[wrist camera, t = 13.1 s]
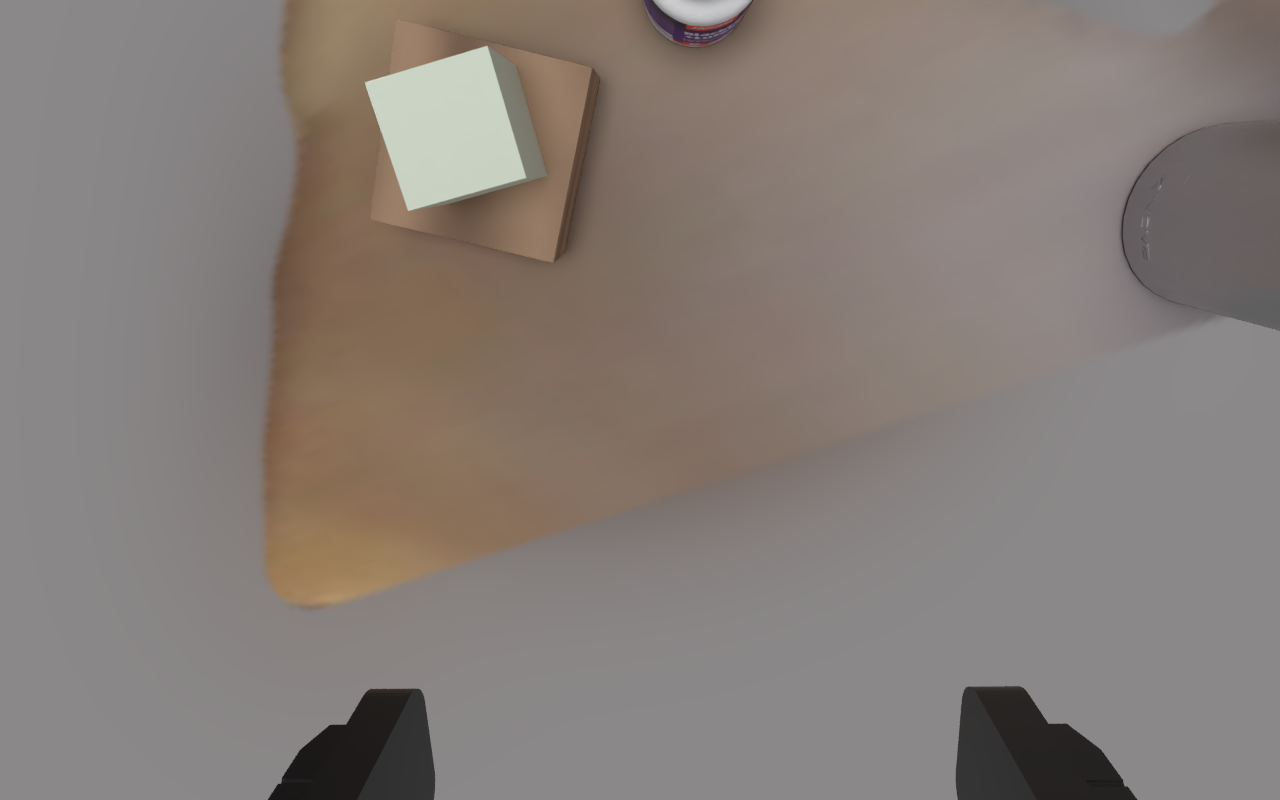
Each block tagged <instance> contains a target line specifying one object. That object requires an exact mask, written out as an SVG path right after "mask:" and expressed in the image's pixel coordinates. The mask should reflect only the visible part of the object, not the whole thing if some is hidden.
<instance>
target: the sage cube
mask: <svg viewBox="0 0 1280 800" xmlns="http://www.w3.org/2000/svg"><path fill="white" fill-rule="evenodd" d="M365 85H366V88H367V91H368V94H369V97H370V100H371V103H372V106H373V109H374V111H375V114H376V117H377V120H378V123H379V126H380V129H381V132H382V135H383V138H384V141H385V144H386V147H387V150H388V153H389V156H390V159H391V162H392V165H393V168H394V171H395V174H396V176H397V179H398V182H399V185H400V188H401V191H402V194H403V197H404V200H405V203H406V206H407V209H408V211H412V210H417V209H423V208H429V207H435V206H440V205H446V204H450V203H454V202H457V201H461V200H464V199H468V198H472V197H475V196H479V195H482V194H486V193H489V192H493V191H497V190H500V189H504V188H507V187H511V186H514V185H518V184H521V183H525V182H529V181H532V180H536V179H539V178H543V177H546V176H548V175H547V172H546V169H545V165H544V162H543V158H542V155H541V151H540V148H539V144H538V141H537V137H536V134H535V130H534V127H533V123H532V120H531V116H530V113H529V109H528V106H527V103H526V99H525V96H524V92H523V89H522V85H521V82H520V78H519V75H518V71H517V68H516V65H515V64H513V63H512V62H510V61H509V60H508V59H506V58H505V57H503V56H502V55H500V54H499V53H497V52H496V51H494V50H493V49H491V48H490V47H489V46H485V47H481V48H478V49H475V50H471V51H468V52H465V53H461V54H458V55H455V56H451V57H448V58H445V59H441V60H438V61H435V62H431V63H428V64H425V65H421V66H418V67H415V68H411V69H408V70H405V71H401V72H398V73H395V74H391V75H388V76H385V77H381V78H378V79H375V80H371V81H368V82H365Z"/></svg>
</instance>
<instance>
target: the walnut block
mask: <svg viewBox="0 0 1280 800" xmlns="http://www.w3.org/2000/svg"><path fill="white" fill-rule="evenodd" d="M485 46H489V47H490V48H491V49H493V50H494V51H496V52H497V53H499V54H500V55H502V56H503V57H505V58H506V59H508V60H509V61H510V62H512V63H513V64H515V65H516V68H517V71H518V75H519V78H520V82H521V85H522V89H523V92H524V96H525V99H526V103H527V106H528V109H529V113H530V116H531V120H532V123H533V127H534V130H535V134H536V137H537V141H538V144H539V148H540V151H541V155H542V158H543V162H544V165H545V169H546V172H547V175H548V176H546V177H543V178H539V179H536V180H532V181H529V182H525V183H521V184H518V185H514V186H511V187H507V188H504V189H500V190H497V191H493V192H489V193H486V194H482V195H479V196H475V197H472V198H468V199H464V200H461V201H457V202H454V203H450V204H446V205H440V206H435V207H429V208H423V209H417V210H412V211H408V209H407V206H406V203H405V200H404V197H403V194H402V191H401V188H400V185H399V182H398V179H397V176H396V174H395V171H394V168H393V165H392V162H391V159H390V156H389V153H388V150H387V147H386V144H385V141H384V138H383V135H382V132H381V137H380V145H379V152H378V160H377V167H376V175H375V183H374V190H373V198H372V206H371V213H370V219H371V220H375V221H379V222H383V223H387V224H392V225H396V226H400V227H404V228H408V229H413V230H417V231H421V232H425V233H429V234H434V235H438V236H442V237H446V238H450V239H455V240H459V241H463V242H467V243H472V244H476V245H480V246H484V247H488V248H493V249H497V250H501V251H505V252H509V253H514V254H518V255H522V256H526V257H530V258H535V259H539V260H543V261H547V262H551V263H554V262H555V261H556V260H557V259H558V258H559V257H561V256H562V255H563V254H564V253H565V249H566V245H567V240H568V235H569V230H570V225H571V220H572V215H573V210H574V205H575V200H576V195H577V190H578V186H579V181H580V176H581V171H582V166H583V161H584V156H585V151H586V146H587V141H588V136H589V131H590V127H591V122H592V117H593V112H594V107H595V102H596V97H597V92H598V87H599V82H600V78H599V76H598V75H597V73H596V72H595V71H594V69H593V68H592V67H588V66H584V65H580V64H576V63H572V62H568V61H564V60H560V59H556V58H552V57H548V56H544V55H540V54H536V53H532V52H528V51H524V50H520V49H516V48H512V47H508V46H504V45H500V44H496V43H492V42H488V41H484V40H479V39H475V38H471V37H467V36H463V35H459V34H455V33H451V32H447V31H443V30H439V29H435V28H431V27H427V26H423V25H419V24H415V23H411V22H407V21H403V20H399V19H396V23H395V30H394V38H393V46H392V53H391V61H390V68H389V75H391V74H395V73H398V72H401V71H405V70H408V69H411V68H415V67H418V66H421V65H425V64H428V63H431V62H435V61H438V60H441V59H445V58H448V57H451V56H455V55H458V54H461V53H465V52H468V51H471V50H475V49H478V48H481V47H485Z"/></svg>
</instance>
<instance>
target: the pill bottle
mask: <svg viewBox="0 0 1280 800" xmlns="http://www.w3.org/2000/svg"><path fill="white" fill-rule="evenodd" d="M752 1H753V0H643V3H644V7H645V10H646V12H647V15H648V17H649V18H650V20H651V22H652V24H653V25H654V26H655V28H656V29H657V30H658V31H659V32H660V33H661V34H662V35H663V36H665V37H666V38H668V39H669V40H671V41H673V42H675V43H677V44H680V45H684V46H689V47H703V46H707V45H711V44H714V43H716V42H718V41H720V40H722V39H723V38H725V37H726V36H727V35H729V34H730V33H731V32H732V31H733V30H734V29H735V28H736V26H737V25H738V24H739V23H740V21H741V20H742V19H743V17H744V15H745V13H746V12H747V10H748V8H749V6H750V5H751V3H752Z"/></svg>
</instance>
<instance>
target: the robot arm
mask: <svg viewBox="0 0 1280 800" xmlns="http://www.w3.org/2000/svg"><path fill="white" fill-rule="evenodd" d="M1123 242H1124V248H1125V254H1126V256H1127V259H1128V261H1129V264H1130V266H1131V268H1132V270H1133V272H1134V273H1135V274H1136V276H1137V277H1138V278H1139V280H1140V281H1141V282H1142V284H1144V285H1145V286H1146V287H1147V288H1149V289H1150V290H1151V291H1152V292H1154V293H1155V294H1157V295H1159V296H1161V297H1163V298H1165V299H1168V300H1170V301H1173V302H1176V303H1180V304H1184V305H1188V306H1191V307H1195V308H1199V309H1203V310H1206V311H1210V312H1214V313H1217V314H1220V315H1224V316H1227V317H1231V318H1235V319H1238V320H1242V321H1246V322H1250V323H1253V324H1257V325H1261V326H1264V327H1268V328H1272V329H1276V330H1280V120H1270V121H1257V122H1243V123H1229V124H1221V125H1216V126H1211V127H1206V128H1202V129H1200V130H1198V131H1195V132H1193V133H1190V134H1188V135H1186V136H1184V137H1182V138H1181V139H1179V140H1178V141H1176V142H1174V143H1173V144H1171V145H1170V146H1168V147H1167V148H1166V149H1165V150H1163V151H1162V152H1161V153H1160V154H1159V155H1158V156H1157V157H1156V158H1155V159H1154V160H1153V161H1152V162H1151V163H1150V164H1149V165H1148V167H1147V168H1146V170H1145V171H1144V172H1143V174H1142V175H1141V176H1140V178H1139V179H1138V181H1137V183H1136V185H1135V187H1134V189H1133V191H1132V193H1131V195H1130V197H1129V200H1128V203H1127V207H1126V211H1125V215H1124V221H1123ZM956 789H957V797H958V800H1137V799H1136V798H1135V796H1134V795H1133V793H1132V792H1131V791H1130V789H1129V788H1128V787H1125V786H1124V784H1123V779H1122V778H1121V777H1120V775H1119V774H1118V773H1117V771H1116V770H1115V768H1114V767H1113V766H1112V764H1111V763H1110V762H1109V760H1108V759H1107V757H1106V756H1105V755H1104V753H1103V752H1102V751H1101V749H1099V748H1098V747H1097V746H1095V745H1094V744H1093V743H1091V742H1090V741H1089V740H1087V739H1086V738H1085V737H1083V736H1082V735H1081V734H1080V733H1078V732H1077V731H1076V730H1074V729H1073V728H1071V727H1070V726H1069V725H1068V724H1048V723H1047V721H1046V720H1045V718H1044V717H1043V715H1042V714H1041V712H1040V711H1039V709H1038V708H1037V706H1036V705H1035V703H1034V702H1033V700H1032V699H1031V697H1030V696H1029V694H1028V693H1027V692H1026V690H1025V689H1024V688H1022V687H1019V686H1015V687H1014V686H1012V687H1010V686H1005V687H967V688H966V689H965V690H964V693H963V697H962V705H961V717H960V730H959V742H958V754H957V765H956ZM434 793H435V771H434V764H433V756H432V749H431V742H430V735H429V727H428V720H427V713H426V706H425V700H424V696H423V693H422V691H421V690H420V689H370V690H368V691H367V692H366V693H365V695H364V696H363V697H362V699H361V701H360V703H359V704H358V706H357V708H356V709H355V711H354V712H353V714H352V716H351V717H350V719H349V721H348V723H347V724H346V725H329V726H328V727H327V728H326V729H325V730H324V731H322V732H321V733H320V734H319V735H317V736H316V737H315V738H314V739H313V740H311V741H310V742H309V743H308V744H307V745H305V746H304V747H303V748H302V749H301V750H300V751H299V753H298V754H297V756H296V757H295V759H294V760H293V762H292V763H291V765H290V766H289V768H288V769H287V771H286V773H285V774H284V776H283V777H282V783H281V784H278V785H277V786H276V788H275V789H274V791H273V793H272V794H271V796H270V797H269V799H268V800H434Z"/></svg>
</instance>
